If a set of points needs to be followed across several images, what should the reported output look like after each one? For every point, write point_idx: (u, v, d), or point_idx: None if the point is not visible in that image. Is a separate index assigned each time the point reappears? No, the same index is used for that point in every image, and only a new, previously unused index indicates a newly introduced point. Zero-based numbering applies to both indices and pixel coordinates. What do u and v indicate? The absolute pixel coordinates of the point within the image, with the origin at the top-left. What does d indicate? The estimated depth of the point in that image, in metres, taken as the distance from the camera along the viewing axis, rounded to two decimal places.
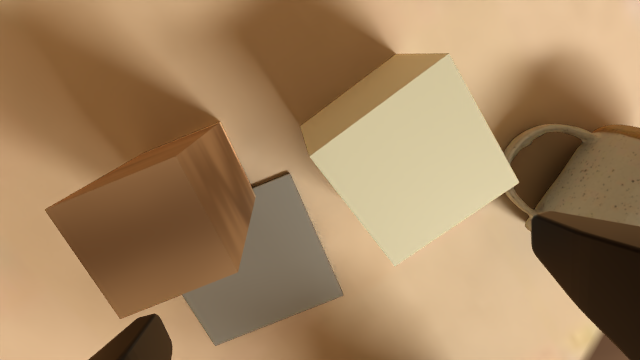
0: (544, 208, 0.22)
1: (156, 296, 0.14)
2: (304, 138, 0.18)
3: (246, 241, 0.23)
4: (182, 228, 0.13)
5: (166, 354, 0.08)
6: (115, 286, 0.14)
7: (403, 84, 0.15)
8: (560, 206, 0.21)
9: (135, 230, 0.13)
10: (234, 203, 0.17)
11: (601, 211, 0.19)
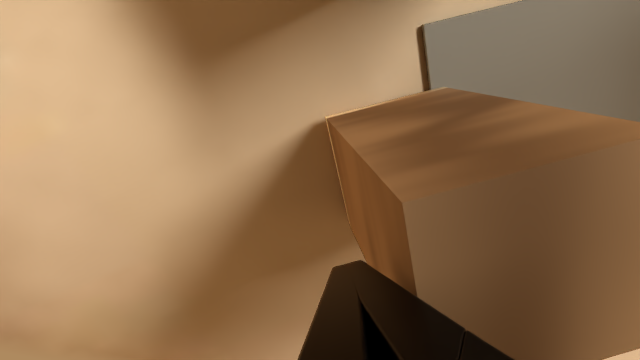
0: None
1: None
2: None
3: None
4: (542, 219, 0.06)
5: None
6: (594, 342, 0.08)
7: None
8: None
9: (515, 296, 0.07)
10: (475, 115, 0.10)
11: None
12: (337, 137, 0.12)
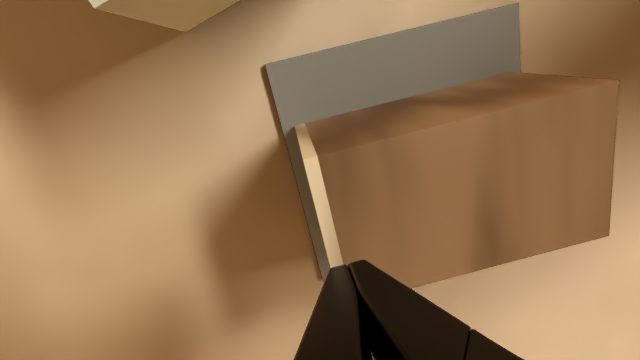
0: None
1: None
2: (154, 22, 0.10)
3: None
4: None
5: None
6: None
7: None
8: None
9: None
10: (432, 99, 0.13)
11: None
12: (393, 148, 0.10)
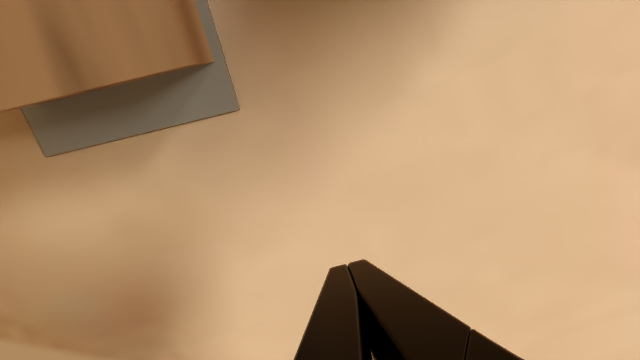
0: None
1: (200, 23, 0.17)
2: None
3: None
4: None
5: None
6: (205, 49, 0.16)
7: None
8: None
9: None
10: None
11: None
12: None
